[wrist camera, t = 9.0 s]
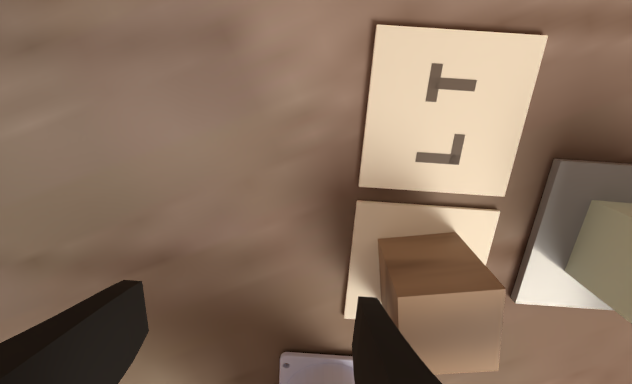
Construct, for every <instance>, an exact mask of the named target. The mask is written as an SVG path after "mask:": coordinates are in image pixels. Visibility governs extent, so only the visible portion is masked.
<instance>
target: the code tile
mask: <svg viewBox="0 0 632 384" xmlns="http://www.w3.org/2000/svg"><path fill="white" fill-rule="evenodd" d="M547 38H548V36H546V35H530V34H515V33H500V32H484V31H469V30H454V29H438V28H423V27H408V26H392V25H376V31H375V40H374V49H373V58H372V67H371V76H370V85H369V94H368V103H367V112H366V121H365V130H364V139H363V148H362V157H361V166H360V175H359V184H358V186H359V187H370V188H384V189H399V190H414V191H429V192H444V193H458V194H473V195H488V196H503V197H504V196H505V193H506V189H507V185H508V182H509V178H510V174H511V171H512V167H513V163H514V160H515V156H516V152H517V148H518V145H519V141H520V137H521V134H522V130H523V126H524V123H525V119H526V115H527V112H528V108H529V104H530V101H531V97H532V93H533V90H534V86H535V82H536V79H537V75H538V71H539V68H540V64H541V60H542V57H543V53H544V49H545V45H546V42H547Z"/></svg>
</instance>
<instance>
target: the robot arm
mask: <svg viewBox="0 0 632 384" xmlns="http://www.w3.org/2000/svg"><path fill="white" fill-rule="evenodd" d="M148 331H149V329H148V322H147V314H146V307H145V300H144V292H143V285H142V281H130V280H123V281H121V282H119V283H116V284H114V285H112V286H110V287H108V288H106V289H105V290H103V291H101V292H99V293H97V294H95V295H93V296H91V297H89V298H88V299H86V300H84V301H82V302H80V303H78V304H76V305H75V306H73V307H71V308H69V309H67V310H65V311H63V312H61V313H60V314H58V315H56V316H54V317H52V318H50V319H48V320H46V321H44V322H42V323H40V324H38V325H36V326H34V327H32V328H30V329H28V330H26V331H24V332H22V333H20V334H18V335H16V336H14V337H12V338H10V339H8V340H6V341H4V342H2V343H0V384H118V383H119V382H120V380H121V379H122V377H123V376H124V374H125V373H126V371H127V370H128V368H129V367H130V365H131V364H132V362H133V360H134V359H135V357H136V355H137V353H138V351H139V349H140V347H141V346H142V344H143V341H144V339H145V337H146V335H147V333H148ZM352 353H353V356H339V355H325V354H311V353H296V352H284V353H282V354H281V357H280V374H279V384H442V383H441V382H440V381H439V380H438V379H437V378H436V376H435V375H434V374H433V373H432V372H431V371H430V369H429V368H428V367H427V366H426V365H425V363H424V362H423V361H422V360H421V359H420V357H419V356H418V355H417V353H416V352H415V351H414V350H413V348H412V347H411V346H410V344H409V343H408V342H407V340H406V339H405V338H404V336H403V335H402V334H401V332H400V331H399V329H398V328H397V327H396V325H395V324H394V322H393V321H392V319H391V318H390V316H389V315H388V313H387V312H386V310H385V309H384V307H383V306H382V304H381V302H380V301H379V300H378V299H377V298H376V297H362V296H358V302H357V310H356V318H355V326H354V334H353V342H352ZM285 363H288V364H285Z"/></svg>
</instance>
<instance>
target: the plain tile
mask: <svg viewBox="0 0 632 384" xmlns="http://www.w3.org/2000/svg"><path fill="white" fill-rule="evenodd" d="M499 215H500V211H499V210H494V209H479V208H464V207H450V206H435V205H420V204H405V203H391V202H376V201H361V200H357V202H356V211H355V220H354V229H353V238H352V247H351V256H350V265H349V274H348V283H347V292H346V301H345V310H344V318H345V319H355V318H356V310H357V302H358V296H362V297H376V298H377V299H378V300H379V301H380V302H381V289H380V271H379V253H378V239H381V238H393V237H404V236H415V235H427V234H438V233H450V232H456V233H457V234H458V235H459V236H460V237H461V239H462V240H463V241H464V242H465V243H466V244H467V245H468V246H469V248H470V249H471V250H472V251H473V252H474V253H475V254H476V256H477V257H478V258H479V259H480V260H481V261H482V262H483V264H484V265H485V266H486V262H487V259H488V255H489V251H490V248H491V244H492V240H493V237H494V233H495V229H496V226H497V222H498V218H499ZM381 304H382V303H381Z"/></svg>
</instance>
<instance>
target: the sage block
mask: <svg viewBox="0 0 632 384" xmlns="http://www.w3.org/2000/svg"><path fill="white" fill-rule="evenodd" d="M565 272H566V273H567V274H569V275H570V276H571V277H572V278H574V279H575V280H576V281H578V282H579V283H580V284H581V285H583V286H584V287H585V288H587V289H588V290H589V291H590V292H592V293H593V294H594V295H595V296H597V297H598V298H599V299H601V300H602V301H603V302H604V303H606V304H607V305H608V306H609V307H611V308H612V309H613V310H615V311H616V312H617V313H618V314H620V315H621V316H622V317H623V318H625V319H626V320H627V321H629V322H630V323H631V324H632V203H622V202H610V201H598V200H592V201H591V204H590V206H589V209H588V211H587V214H586V217H585V219H584V222H583V224H582V227H581V230H580V232H579V235H578V237H577V240H576V243H575V245H574V248H573V250H572V253H571V255H570V258H569V261H568V263H567V266H566V268H565Z"/></svg>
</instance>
